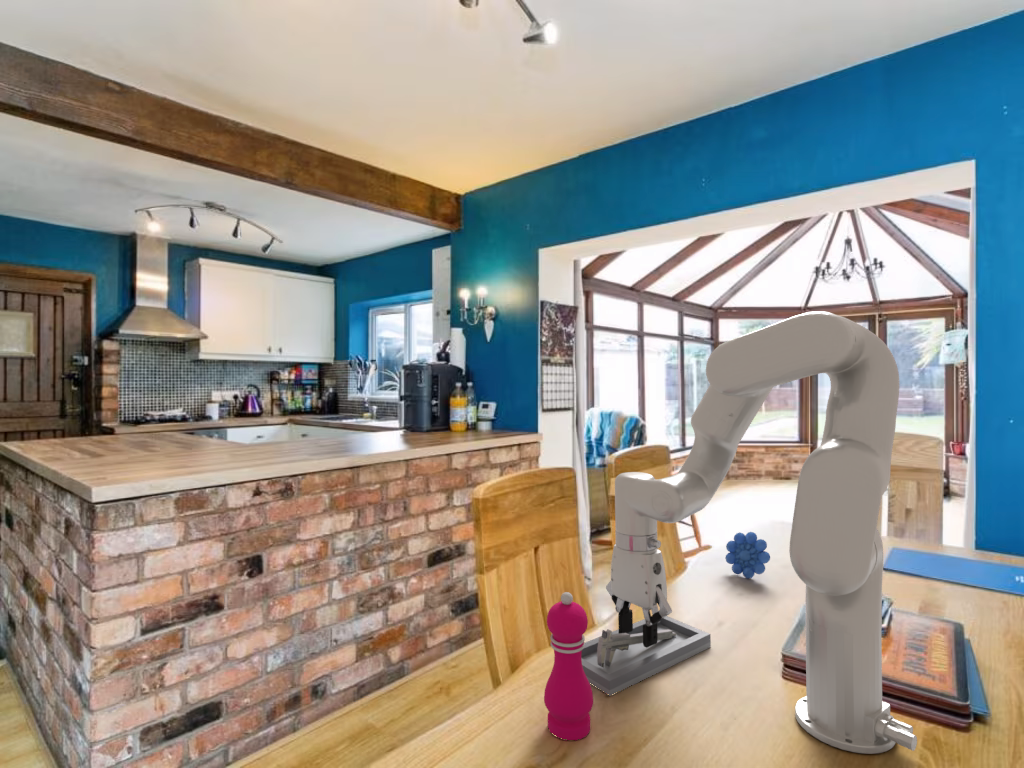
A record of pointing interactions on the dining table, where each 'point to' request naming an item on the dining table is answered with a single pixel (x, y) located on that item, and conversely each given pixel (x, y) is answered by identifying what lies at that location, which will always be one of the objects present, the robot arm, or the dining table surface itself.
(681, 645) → the tool case
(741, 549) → the blue bumpy cluster
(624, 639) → the caliper
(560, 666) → the pepper mill
